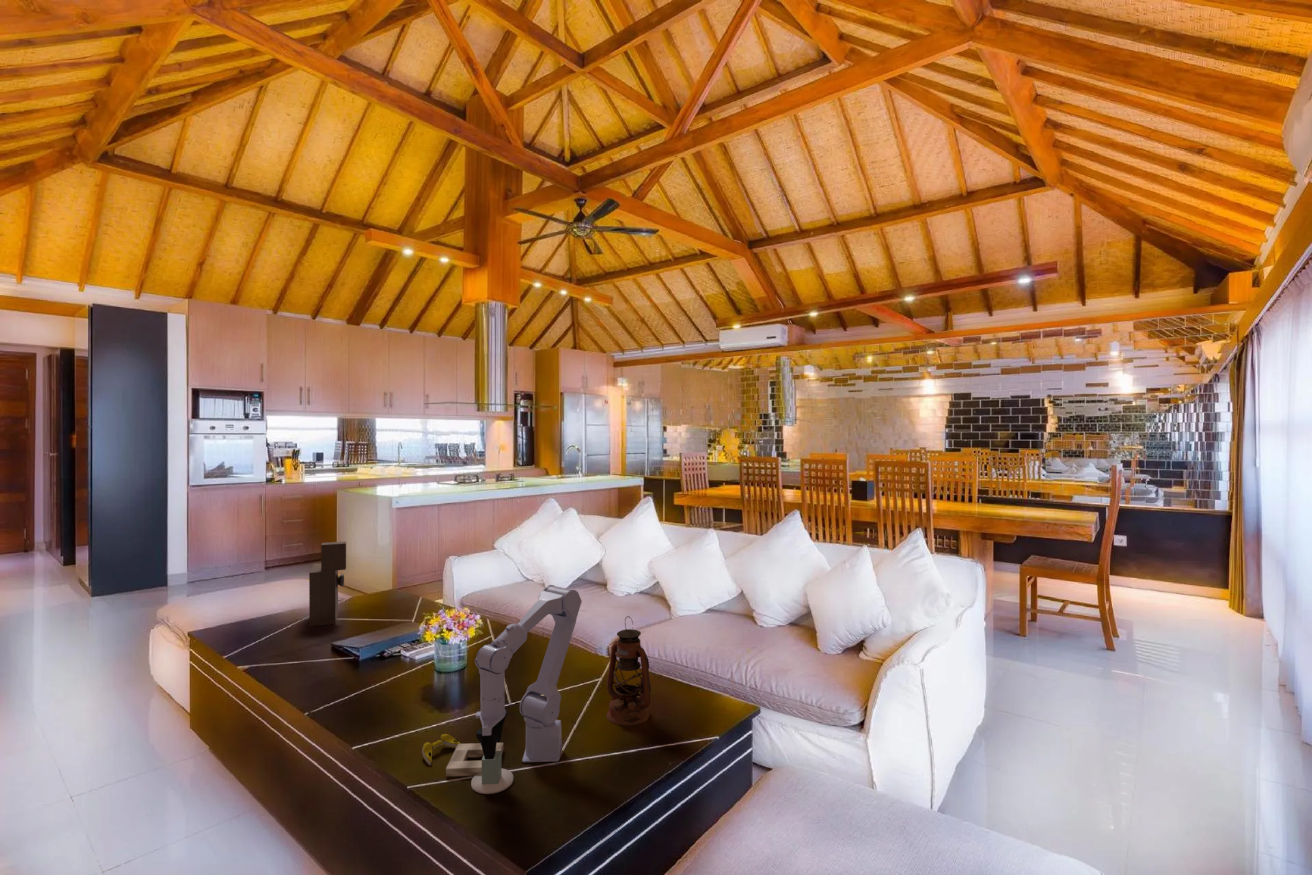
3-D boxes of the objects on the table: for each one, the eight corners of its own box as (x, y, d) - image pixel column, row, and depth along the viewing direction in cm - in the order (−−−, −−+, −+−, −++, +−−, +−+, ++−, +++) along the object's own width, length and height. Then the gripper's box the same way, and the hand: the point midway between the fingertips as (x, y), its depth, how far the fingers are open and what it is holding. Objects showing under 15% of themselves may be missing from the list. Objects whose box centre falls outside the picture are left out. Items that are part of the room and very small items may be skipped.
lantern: (592, 715, 186) (593, 616, 186) (620, 700, 197) (620, 607, 196) (636, 732, 176) (636, 628, 176) (663, 715, 187) (663, 616, 186)
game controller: (446, 738, 170) (449, 728, 170) (460, 753, 167) (463, 743, 166) (414, 754, 162) (417, 743, 161) (428, 770, 159) (431, 759, 158)
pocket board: (503, 749, 166) (503, 742, 166) (494, 774, 154) (494, 766, 154) (458, 751, 165) (458, 743, 165) (445, 776, 153) (445, 768, 153)
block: (501, 774, 153) (501, 750, 153) (498, 783, 149) (498, 759, 149) (485, 774, 153) (485, 750, 153) (481, 784, 149) (481, 759, 149)
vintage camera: (345, 622, 274) (345, 543, 273) (309, 626, 268) (308, 546, 267) (347, 610, 291) (347, 536, 290) (313, 613, 285) (313, 538, 285)
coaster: (516, 769, 157) (516, 767, 157) (509, 793, 147) (509, 790, 147) (476, 771, 156) (476, 768, 156) (466, 794, 146) (466, 792, 146)
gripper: (482, 683, 158) (482, 735, 158) (468, 709, 143) (469, 766, 144) (510, 682, 158) (510, 734, 159) (499, 708, 144) (499, 765, 144)
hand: (492, 749), depth 151 cm, fingers open, 7 cm apart
